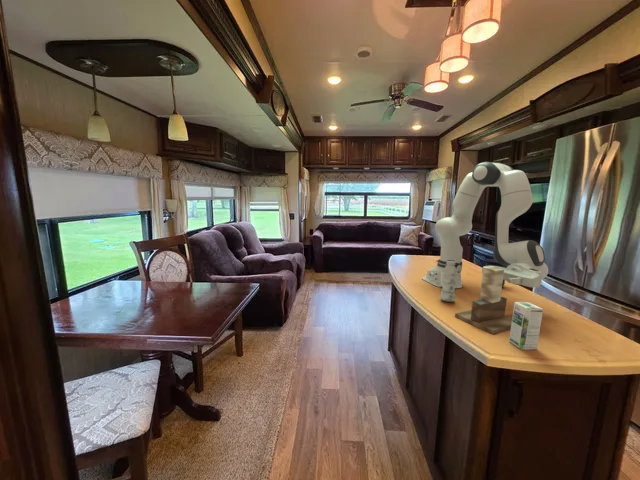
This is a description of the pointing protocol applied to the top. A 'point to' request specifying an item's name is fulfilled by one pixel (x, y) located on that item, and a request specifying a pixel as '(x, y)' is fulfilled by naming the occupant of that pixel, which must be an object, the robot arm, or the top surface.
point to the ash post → (491, 284)
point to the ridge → (487, 316)
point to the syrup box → (525, 325)
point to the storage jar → (494, 263)
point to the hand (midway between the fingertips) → (497, 277)
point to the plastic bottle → (449, 282)
